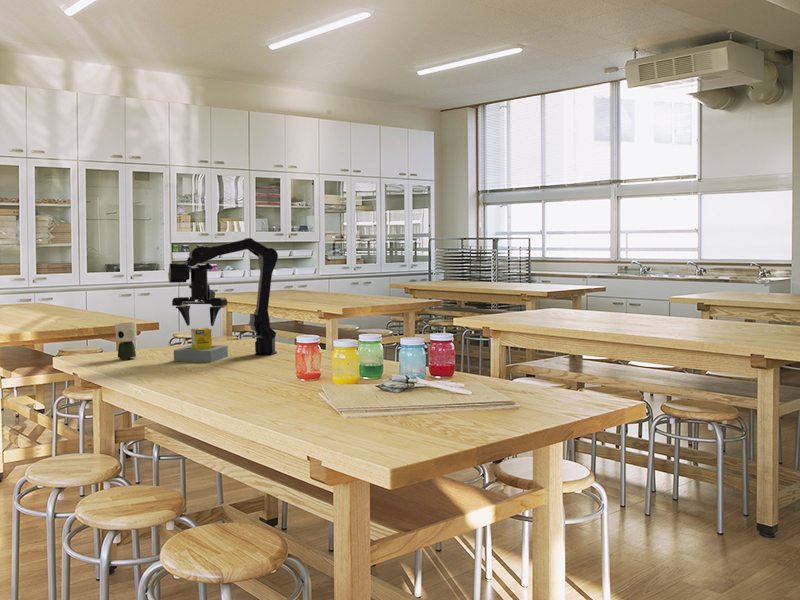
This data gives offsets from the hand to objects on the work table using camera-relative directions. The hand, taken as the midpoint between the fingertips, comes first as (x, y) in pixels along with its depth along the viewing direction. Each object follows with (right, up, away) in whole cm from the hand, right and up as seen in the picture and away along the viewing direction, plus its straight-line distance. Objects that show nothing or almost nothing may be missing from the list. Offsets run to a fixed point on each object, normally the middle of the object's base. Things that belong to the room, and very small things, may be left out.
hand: (200, 325), depth 254 cm
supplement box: (0, -12, +1) cm, 12 cm away
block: (0, -12, +1) cm, 12 cm away
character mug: (-27, -12, +2) cm, 30 cm away
